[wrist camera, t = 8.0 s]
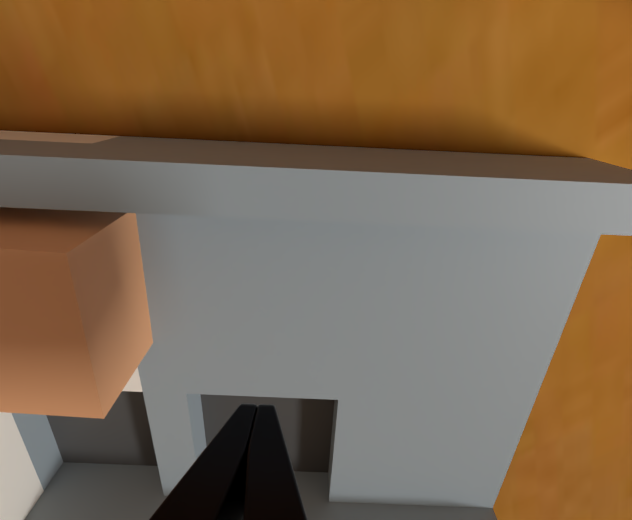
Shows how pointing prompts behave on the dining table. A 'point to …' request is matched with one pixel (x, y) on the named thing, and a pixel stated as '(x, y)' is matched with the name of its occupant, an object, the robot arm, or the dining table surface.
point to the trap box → (317, 316)
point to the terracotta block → (69, 310)
